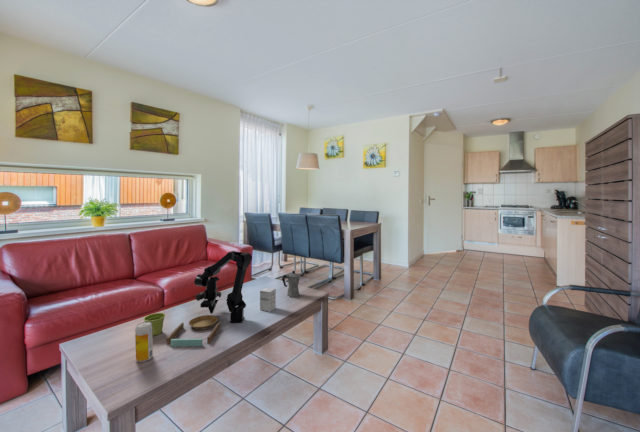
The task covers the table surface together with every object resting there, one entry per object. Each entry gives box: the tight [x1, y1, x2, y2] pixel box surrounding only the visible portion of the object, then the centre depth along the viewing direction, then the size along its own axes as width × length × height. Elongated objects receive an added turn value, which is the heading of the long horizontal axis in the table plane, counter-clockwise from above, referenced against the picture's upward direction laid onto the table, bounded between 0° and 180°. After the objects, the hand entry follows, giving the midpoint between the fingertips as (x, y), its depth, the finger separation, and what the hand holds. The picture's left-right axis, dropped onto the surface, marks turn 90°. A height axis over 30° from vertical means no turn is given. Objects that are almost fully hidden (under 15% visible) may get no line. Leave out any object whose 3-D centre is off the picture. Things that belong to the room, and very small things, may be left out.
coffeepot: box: [281, 270, 303, 298], centre depth 196 cm, size 15×9×18 cm, turn 122°
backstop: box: [170, 338, 203, 347], centre depth 127 cm, size 14×1×3 cm, turn 93°
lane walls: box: [165, 321, 221, 345], centre depth 137 cm, size 20×16×3 cm
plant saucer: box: [188, 314, 219, 330], centre depth 149 cm, size 15×15×3 cm
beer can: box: [134, 321, 154, 363], centre depth 116 cm, size 6×6×15 cm
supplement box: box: [259, 287, 277, 312], centre depth 171 cm, size 7×7×13 cm
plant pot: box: [143, 312, 166, 337], centre depth 138 cm, size 9×9×9 cm
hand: (211, 313), depth 161 cm, fingers closed
